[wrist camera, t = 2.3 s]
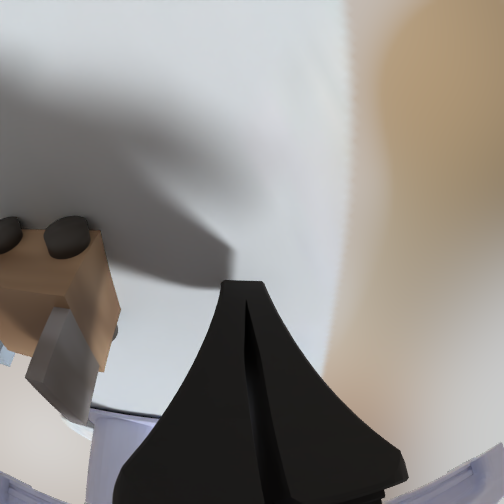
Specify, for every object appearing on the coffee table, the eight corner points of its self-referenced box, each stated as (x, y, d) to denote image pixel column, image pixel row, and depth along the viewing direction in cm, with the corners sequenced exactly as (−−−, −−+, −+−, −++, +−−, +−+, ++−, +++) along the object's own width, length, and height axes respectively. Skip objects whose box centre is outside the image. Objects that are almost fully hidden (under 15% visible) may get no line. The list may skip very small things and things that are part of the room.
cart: (124, 317, 12) (98, 435, 7) (37, 306, 11) (-2, 402, 7) (97, 214, 9) (21, 356, 4) (-1, 215, 8) (-78, 318, 3)
